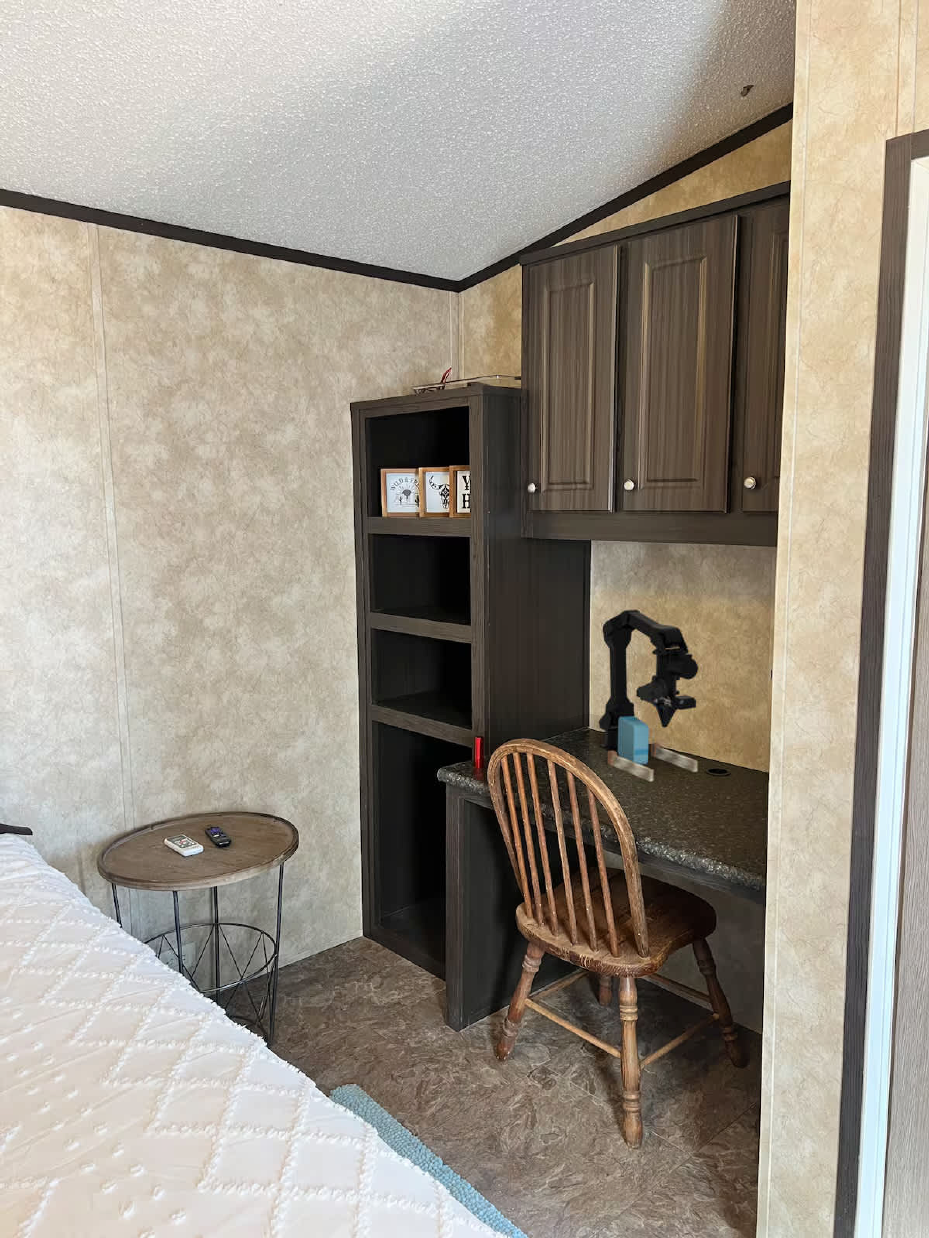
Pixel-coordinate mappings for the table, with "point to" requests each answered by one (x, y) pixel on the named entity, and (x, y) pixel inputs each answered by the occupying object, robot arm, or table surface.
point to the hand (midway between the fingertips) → (664, 727)
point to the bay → (655, 752)
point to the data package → (633, 739)
